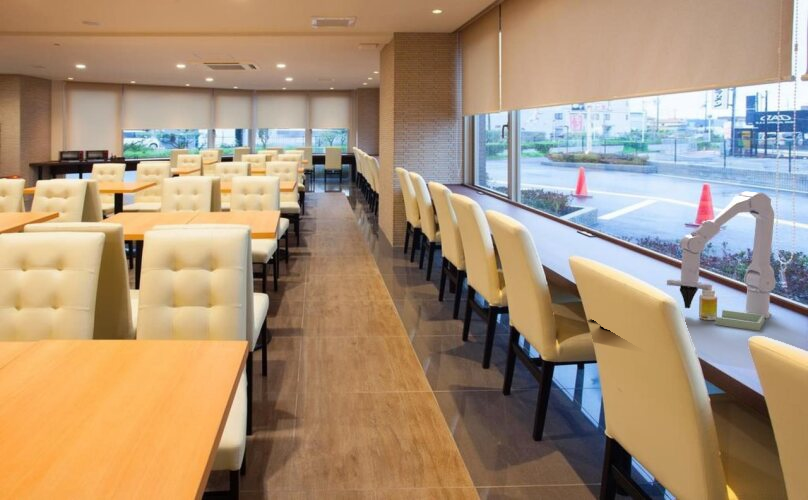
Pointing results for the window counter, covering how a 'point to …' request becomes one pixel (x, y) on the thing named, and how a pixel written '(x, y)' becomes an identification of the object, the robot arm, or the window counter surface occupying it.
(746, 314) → the tray
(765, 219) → the robot arm
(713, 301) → the supplement bottle
